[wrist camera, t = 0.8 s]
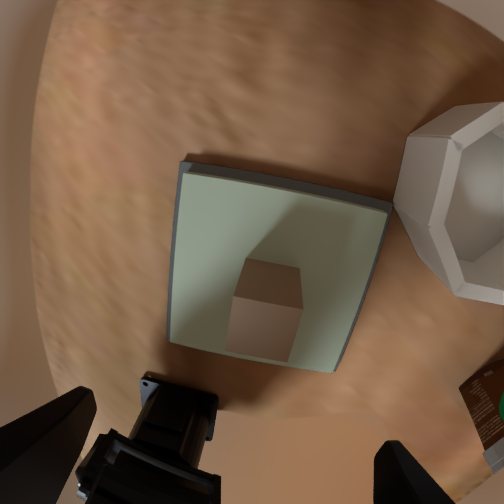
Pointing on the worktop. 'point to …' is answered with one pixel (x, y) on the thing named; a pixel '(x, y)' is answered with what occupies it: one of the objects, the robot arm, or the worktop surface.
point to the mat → (281, 183)
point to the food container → (488, 410)
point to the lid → (269, 271)
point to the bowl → (457, 198)
